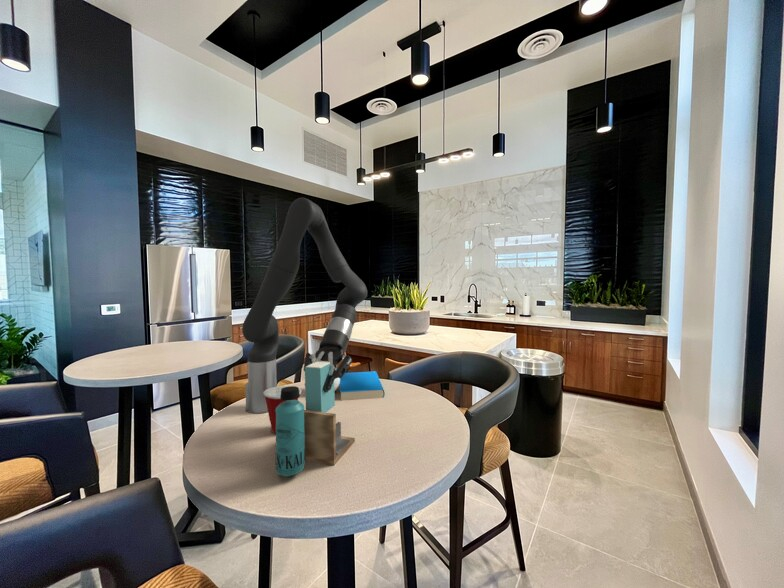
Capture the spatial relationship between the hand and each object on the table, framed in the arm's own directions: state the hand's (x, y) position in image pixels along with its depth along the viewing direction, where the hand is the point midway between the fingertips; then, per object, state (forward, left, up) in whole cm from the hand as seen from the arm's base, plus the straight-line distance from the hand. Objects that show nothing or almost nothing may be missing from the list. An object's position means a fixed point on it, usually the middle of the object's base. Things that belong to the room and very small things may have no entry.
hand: (316, 389), depth 82 cm
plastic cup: (-14, +11, -16) cm, 24 cm away
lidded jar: (-13, +44, -16) cm, 49 cm away
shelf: (0, +2, -16) cm, 16 cm away
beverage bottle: (-2, -11, -16) cm, 20 cm away
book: (0, +50, -17) cm, 53 cm away
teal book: (0, +2, -6) cm, 6 cm away
